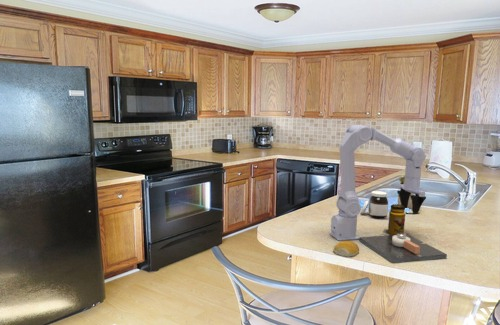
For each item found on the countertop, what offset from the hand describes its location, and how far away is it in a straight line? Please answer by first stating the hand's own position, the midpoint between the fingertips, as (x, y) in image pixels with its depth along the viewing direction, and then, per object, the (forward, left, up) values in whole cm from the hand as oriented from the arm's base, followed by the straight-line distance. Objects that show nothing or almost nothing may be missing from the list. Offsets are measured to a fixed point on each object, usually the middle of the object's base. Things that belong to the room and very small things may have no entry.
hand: (409, 210), depth 151 cm
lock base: (-13, -14, -10) cm, 22 cm away
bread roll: (-34, -13, -10) cm, 38 cm away
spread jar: (+1, +27, -10) cm, 29 cm away
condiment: (-5, +2, -10) cm, 12 cm away
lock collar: (-13, -17, -8) cm, 23 cm away
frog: (+23, +32, -10) cm, 41 cm away
